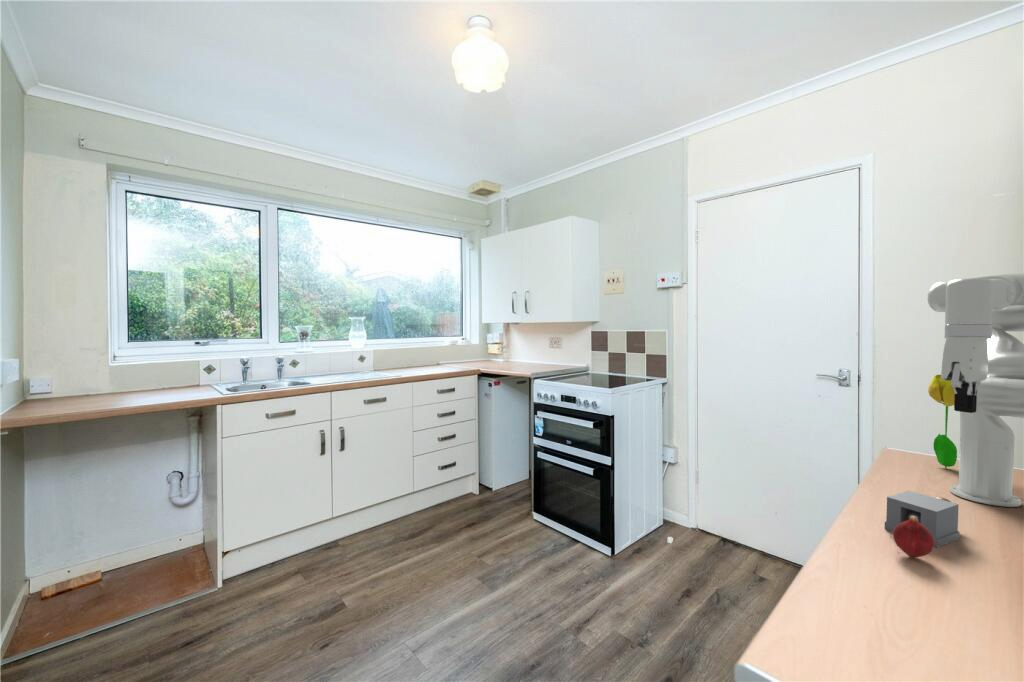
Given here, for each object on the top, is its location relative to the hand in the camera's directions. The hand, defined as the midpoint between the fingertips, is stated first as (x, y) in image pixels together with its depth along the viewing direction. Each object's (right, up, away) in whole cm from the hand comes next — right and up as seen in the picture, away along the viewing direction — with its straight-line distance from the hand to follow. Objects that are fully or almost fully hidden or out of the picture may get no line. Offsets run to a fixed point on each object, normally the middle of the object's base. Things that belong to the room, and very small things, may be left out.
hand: (965, 411), depth 100 cm
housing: (-16, -25, -7) cm, 31 cm away
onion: (-27, -26, -16) cm, 41 cm away
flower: (+32, -24, +37) cm, 54 cm away
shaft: (-14, -24, -5) cm, 28 cm away
